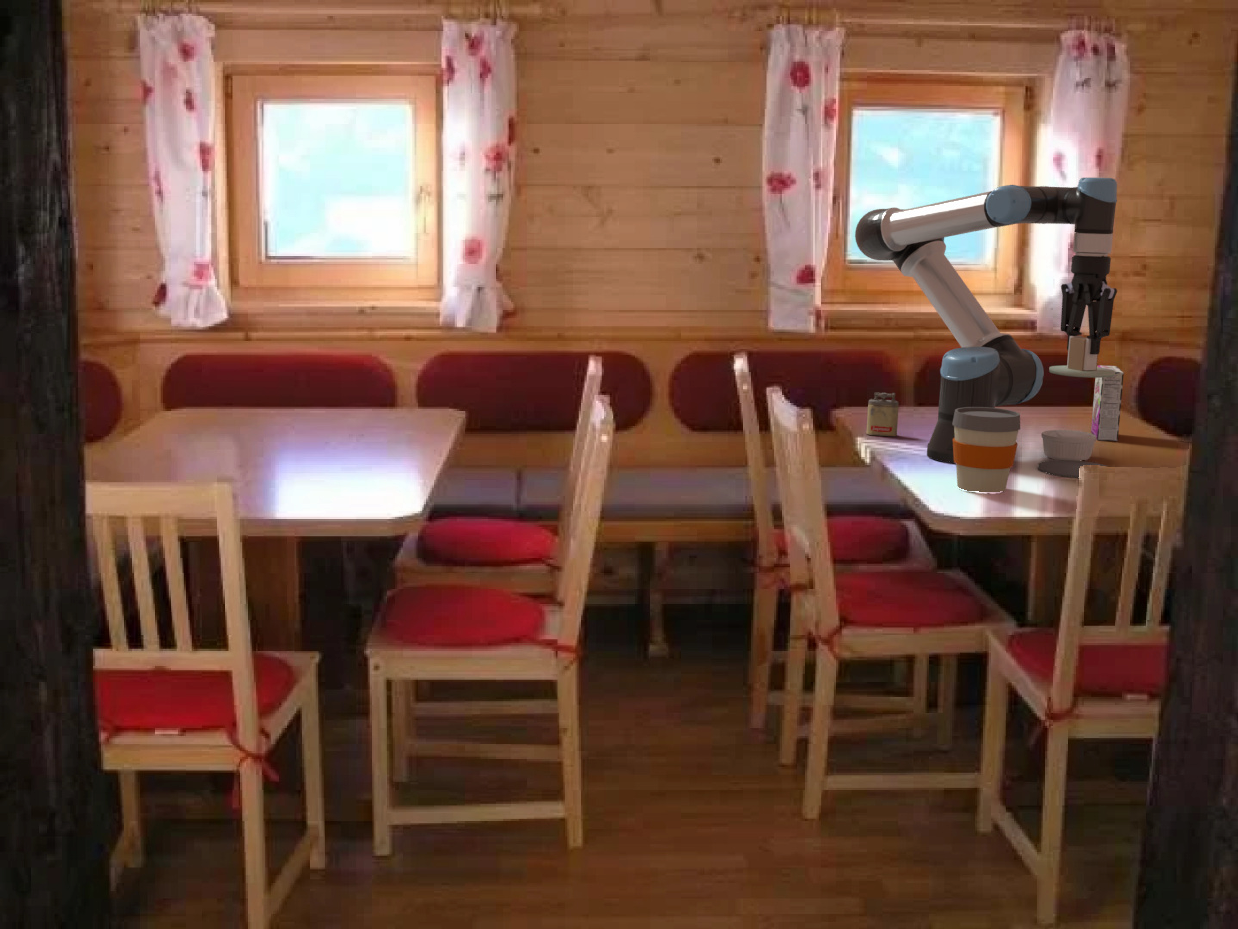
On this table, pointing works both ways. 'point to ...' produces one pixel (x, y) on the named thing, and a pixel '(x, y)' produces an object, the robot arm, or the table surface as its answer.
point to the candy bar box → (1107, 405)
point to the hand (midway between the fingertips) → (1081, 368)
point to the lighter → (882, 415)
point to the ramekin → (1068, 444)
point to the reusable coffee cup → (984, 447)
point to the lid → (1079, 362)
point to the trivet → (1063, 467)
